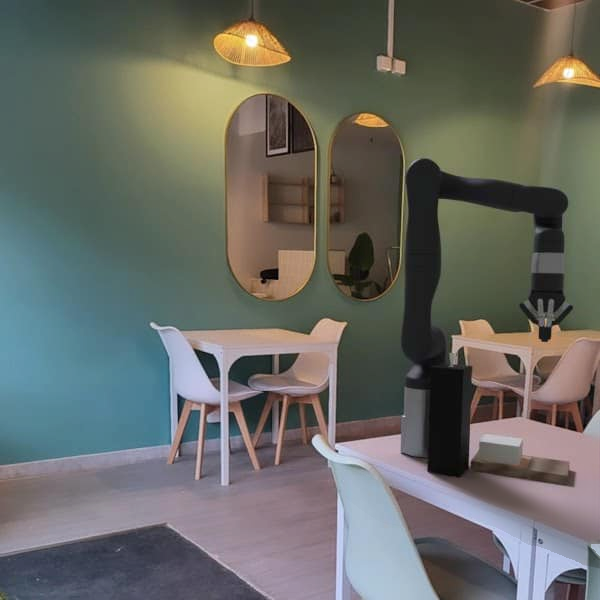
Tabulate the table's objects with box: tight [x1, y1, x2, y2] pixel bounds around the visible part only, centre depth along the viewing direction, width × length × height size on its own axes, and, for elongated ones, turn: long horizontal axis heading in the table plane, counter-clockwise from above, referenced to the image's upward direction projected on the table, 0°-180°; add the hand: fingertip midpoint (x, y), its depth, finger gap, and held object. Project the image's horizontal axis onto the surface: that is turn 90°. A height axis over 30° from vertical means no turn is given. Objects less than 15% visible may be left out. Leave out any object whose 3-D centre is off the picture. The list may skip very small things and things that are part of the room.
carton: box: [478, 433, 524, 466], centre depth 144 cm, size 9×8×4 cm
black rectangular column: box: [426, 352, 473, 478], centre depth 140 cm, size 8×8×28 cm
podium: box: [470, 450, 570, 486], centre depth 142 cm, size 21×12×2 cm, turn 63°
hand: (544, 341), depth 147 cm, fingers closed
